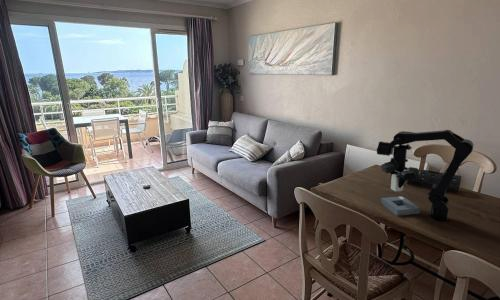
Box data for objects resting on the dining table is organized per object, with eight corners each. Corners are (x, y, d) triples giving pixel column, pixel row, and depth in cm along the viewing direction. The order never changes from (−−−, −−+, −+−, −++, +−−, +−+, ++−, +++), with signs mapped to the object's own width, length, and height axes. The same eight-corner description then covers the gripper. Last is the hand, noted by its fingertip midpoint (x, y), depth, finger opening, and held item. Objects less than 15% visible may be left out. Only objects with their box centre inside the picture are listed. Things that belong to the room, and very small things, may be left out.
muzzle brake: (457, 195, 157) (460, 178, 154) (402, 184, 175) (404, 168, 172) (459, 189, 164) (462, 173, 161) (406, 179, 182) (407, 164, 179)
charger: (402, 190, 142) (404, 175, 140) (395, 191, 142) (396, 176, 140) (398, 187, 146) (399, 173, 144) (390, 188, 146) (391, 173, 144)
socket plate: (419, 213, 139) (420, 207, 138) (396, 215, 138) (397, 209, 137) (401, 201, 152) (402, 195, 151) (381, 203, 151) (381, 197, 150)
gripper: (374, 153, 148) (372, 181, 152) (395, 163, 130) (393, 194, 134) (394, 151, 149) (392, 179, 153) (418, 161, 131) (414, 192, 135)
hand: (397, 186), depth 144 cm, fingers closed on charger, 4 cm apart
